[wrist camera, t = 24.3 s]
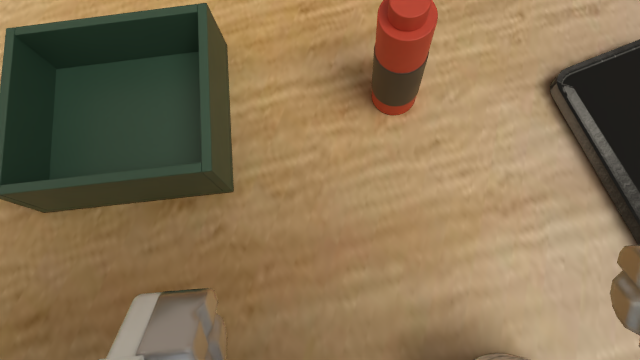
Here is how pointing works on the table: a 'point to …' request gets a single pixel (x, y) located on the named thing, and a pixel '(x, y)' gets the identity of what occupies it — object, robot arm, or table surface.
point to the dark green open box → (115, 110)
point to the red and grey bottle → (401, 52)
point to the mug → (500, 357)
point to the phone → (607, 122)
